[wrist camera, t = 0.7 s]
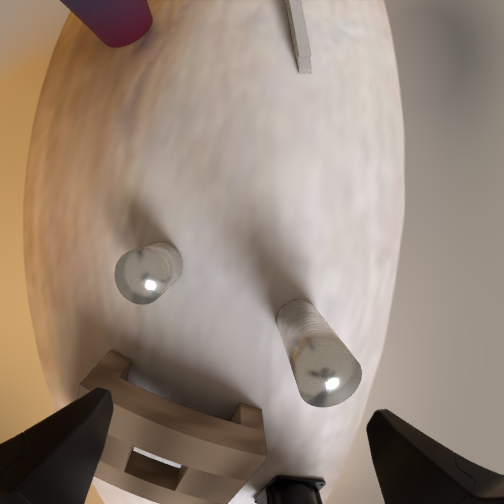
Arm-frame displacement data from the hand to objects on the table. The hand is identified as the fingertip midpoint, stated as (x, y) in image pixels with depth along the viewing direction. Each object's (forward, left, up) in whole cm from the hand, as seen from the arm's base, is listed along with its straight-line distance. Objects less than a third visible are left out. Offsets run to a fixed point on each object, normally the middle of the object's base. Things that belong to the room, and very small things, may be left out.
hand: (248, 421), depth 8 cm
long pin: (-4, 0, -13) cm, 14 cm away
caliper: (+8, -27, -14) cm, 31 cm away
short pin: (+7, 0, -13) cm, 15 cm away
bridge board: (+2, +15, -13) cm, 20 cm away
